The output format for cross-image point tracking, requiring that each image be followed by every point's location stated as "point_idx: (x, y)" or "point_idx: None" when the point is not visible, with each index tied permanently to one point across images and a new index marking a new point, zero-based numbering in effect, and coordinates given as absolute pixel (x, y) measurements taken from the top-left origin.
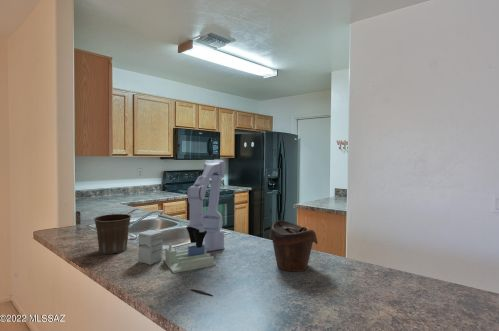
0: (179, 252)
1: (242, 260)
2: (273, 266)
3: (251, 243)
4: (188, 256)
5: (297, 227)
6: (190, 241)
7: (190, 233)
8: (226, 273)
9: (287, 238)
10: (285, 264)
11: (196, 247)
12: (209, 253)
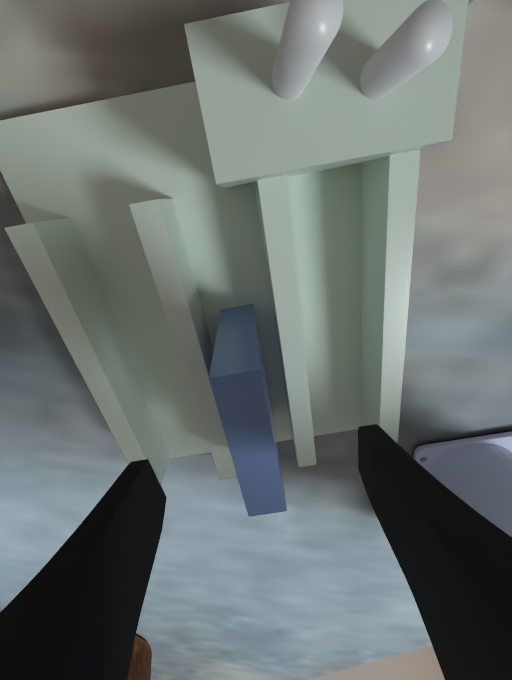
0: (384, 249)
1: (193, 554)
2: None
3: (412, 610)
4: (231, 323)
5: None
6: (383, 433)
7: (449, 575)
8: (7, 476)
9: None
10: None
11: (232, 445)
12: (231, 477)
